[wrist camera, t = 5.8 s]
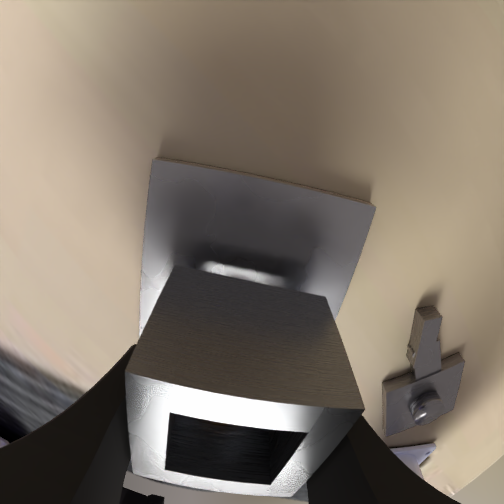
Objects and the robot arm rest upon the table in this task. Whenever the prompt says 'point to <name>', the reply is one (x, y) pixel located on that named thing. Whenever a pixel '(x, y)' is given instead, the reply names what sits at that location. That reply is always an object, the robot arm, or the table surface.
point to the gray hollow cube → (237, 386)
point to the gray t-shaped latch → (422, 378)
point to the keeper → (249, 231)
